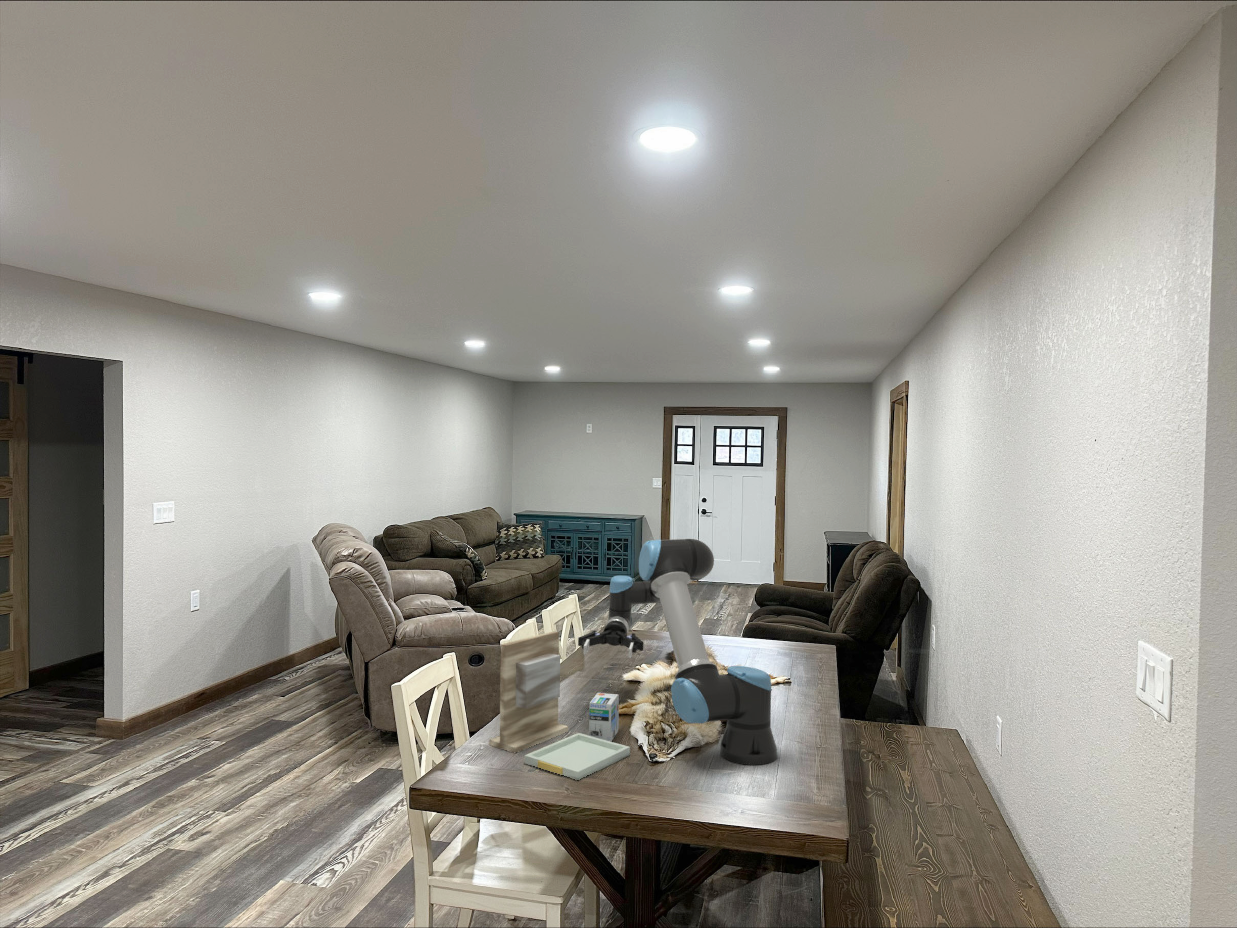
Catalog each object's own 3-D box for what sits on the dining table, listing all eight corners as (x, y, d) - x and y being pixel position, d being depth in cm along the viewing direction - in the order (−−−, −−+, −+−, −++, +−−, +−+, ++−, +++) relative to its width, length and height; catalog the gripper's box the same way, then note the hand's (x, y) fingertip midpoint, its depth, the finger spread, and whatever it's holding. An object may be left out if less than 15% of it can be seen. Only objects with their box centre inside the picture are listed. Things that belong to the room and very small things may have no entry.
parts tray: (629, 755, 217) (630, 746, 217) (576, 781, 199) (576, 772, 199) (578, 740, 227) (578, 732, 227) (523, 764, 209) (523, 755, 209)
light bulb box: (611, 742, 226) (612, 704, 226) (588, 740, 227) (588, 702, 227) (619, 730, 237) (619, 693, 237) (596, 728, 238) (597, 691, 238)
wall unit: (568, 731, 235) (569, 633, 235) (515, 753, 217) (516, 647, 217) (542, 724, 241) (543, 629, 241) (489, 745, 223) (490, 642, 223)
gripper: (653, 645, 260) (648, 667, 239) (577, 639, 263) (565, 661, 242) (654, 622, 260) (649, 642, 239) (578, 617, 263) (566, 636, 242)
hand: (607, 651), depth 241 cm, fingers open, 13 cm apart
